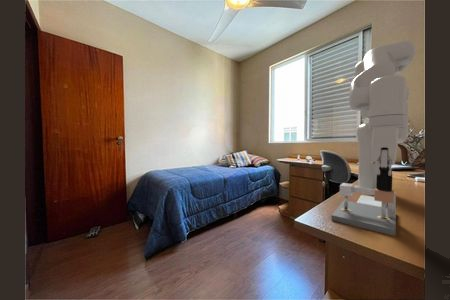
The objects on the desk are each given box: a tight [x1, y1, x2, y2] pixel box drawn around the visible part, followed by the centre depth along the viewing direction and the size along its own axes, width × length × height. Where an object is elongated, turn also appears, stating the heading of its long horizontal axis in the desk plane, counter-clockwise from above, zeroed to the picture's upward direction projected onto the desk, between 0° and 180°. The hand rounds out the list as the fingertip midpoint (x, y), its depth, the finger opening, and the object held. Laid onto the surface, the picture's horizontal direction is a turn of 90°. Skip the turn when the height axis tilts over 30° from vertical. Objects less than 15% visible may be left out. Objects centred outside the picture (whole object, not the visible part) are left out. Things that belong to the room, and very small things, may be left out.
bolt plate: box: [330, 200, 397, 237], centre depth 56 cm, size 18×14×2 cm
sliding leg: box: [373, 168, 395, 217], centre depth 51 cm, size 3×4×14 cm
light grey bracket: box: [339, 182, 397, 219], centre depth 55 cm, size 5×13×8 cm, turn 47°
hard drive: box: [356, 194, 388, 207], centre depth 68 cm, size 2×8×12 cm
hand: (384, 188), depth 51 cm, fingers closed on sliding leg, 3 cm apart
